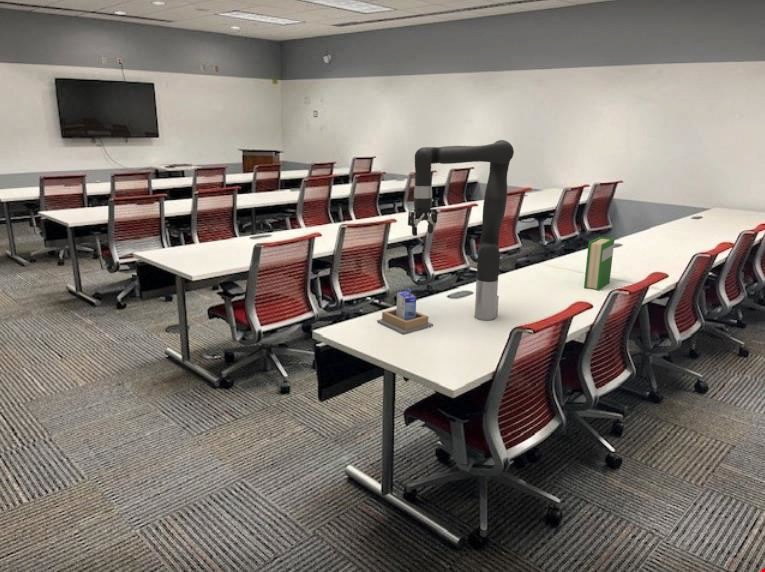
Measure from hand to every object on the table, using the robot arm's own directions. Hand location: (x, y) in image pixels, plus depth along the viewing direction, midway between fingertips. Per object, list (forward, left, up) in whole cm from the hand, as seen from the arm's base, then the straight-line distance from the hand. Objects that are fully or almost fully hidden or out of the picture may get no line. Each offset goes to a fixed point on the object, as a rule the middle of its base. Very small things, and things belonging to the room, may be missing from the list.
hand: (422, 234), depth 244 cm
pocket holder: (+14, +6, -36) cm, 39 cm away
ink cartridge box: (+14, +6, -35) cm, 38 cm away
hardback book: (-102, +21, -36) cm, 110 cm away
